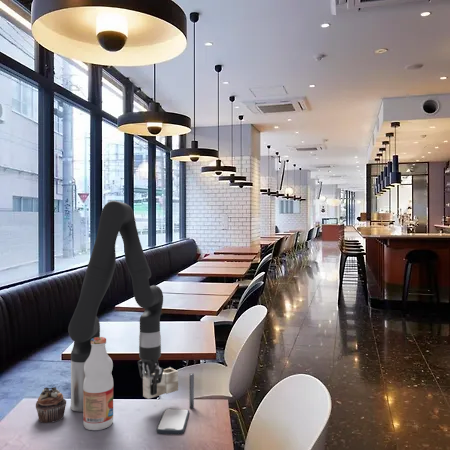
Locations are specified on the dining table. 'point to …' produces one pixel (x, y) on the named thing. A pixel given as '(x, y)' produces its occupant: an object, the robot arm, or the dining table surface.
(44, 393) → the cupcake
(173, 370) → the open-ended tube with peg
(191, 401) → the post
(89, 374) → the fruit juice
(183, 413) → the smartphone
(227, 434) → the dining table surface
